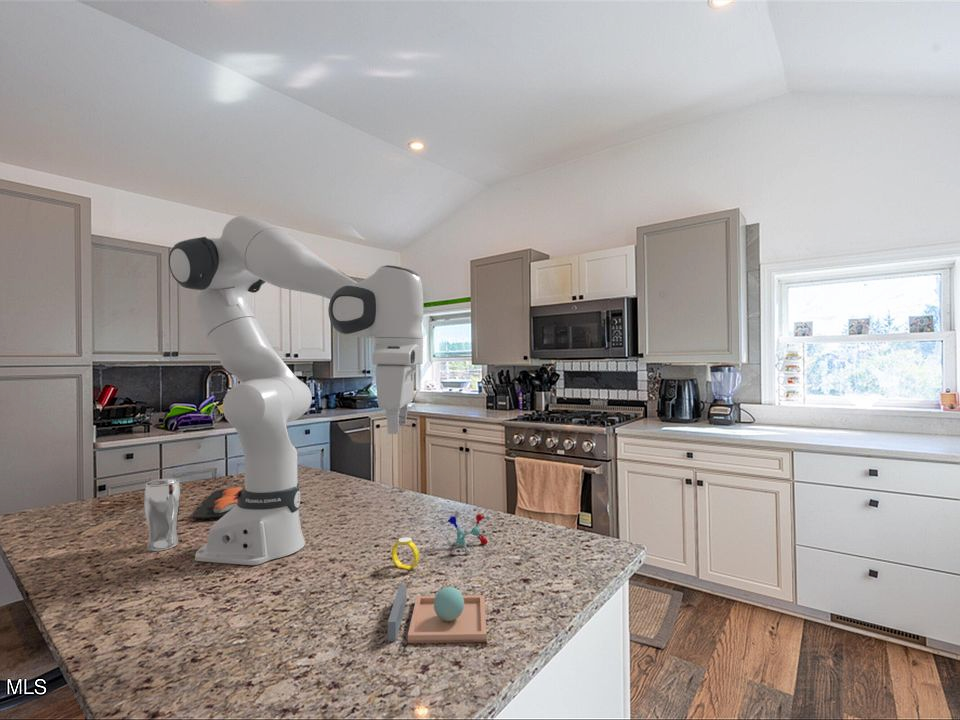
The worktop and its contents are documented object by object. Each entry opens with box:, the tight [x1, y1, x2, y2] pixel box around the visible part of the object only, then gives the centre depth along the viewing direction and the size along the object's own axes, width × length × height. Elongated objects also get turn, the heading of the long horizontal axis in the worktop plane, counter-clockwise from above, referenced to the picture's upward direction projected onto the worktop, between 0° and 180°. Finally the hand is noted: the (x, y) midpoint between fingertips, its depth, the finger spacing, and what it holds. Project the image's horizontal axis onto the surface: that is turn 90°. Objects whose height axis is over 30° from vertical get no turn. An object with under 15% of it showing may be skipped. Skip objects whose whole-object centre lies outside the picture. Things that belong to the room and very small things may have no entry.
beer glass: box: [143, 477, 181, 552], centre depth 110 cm, size 7×7×15 cm
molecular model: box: [439, 509, 492, 555], centre depth 110 cm, size 12×10×10 cm
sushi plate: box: [192, 486, 306, 520], centre depth 145 cm, size 29×30×4 cm
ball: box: [434, 586, 464, 621], centre depth 78 cm, size 5×5×5 cm
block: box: [387, 584, 407, 643], centre depth 79 cm, size 1×12×3 cm, turn 1°
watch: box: [391, 536, 420, 571], centre depth 99 cm, size 6×3×6 cm, turn 65°
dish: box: [407, 594, 488, 644], centre depth 78 cm, size 12×12×1 cm
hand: (397, 429), depth 88 cm, fingers open, 8 cm apart
